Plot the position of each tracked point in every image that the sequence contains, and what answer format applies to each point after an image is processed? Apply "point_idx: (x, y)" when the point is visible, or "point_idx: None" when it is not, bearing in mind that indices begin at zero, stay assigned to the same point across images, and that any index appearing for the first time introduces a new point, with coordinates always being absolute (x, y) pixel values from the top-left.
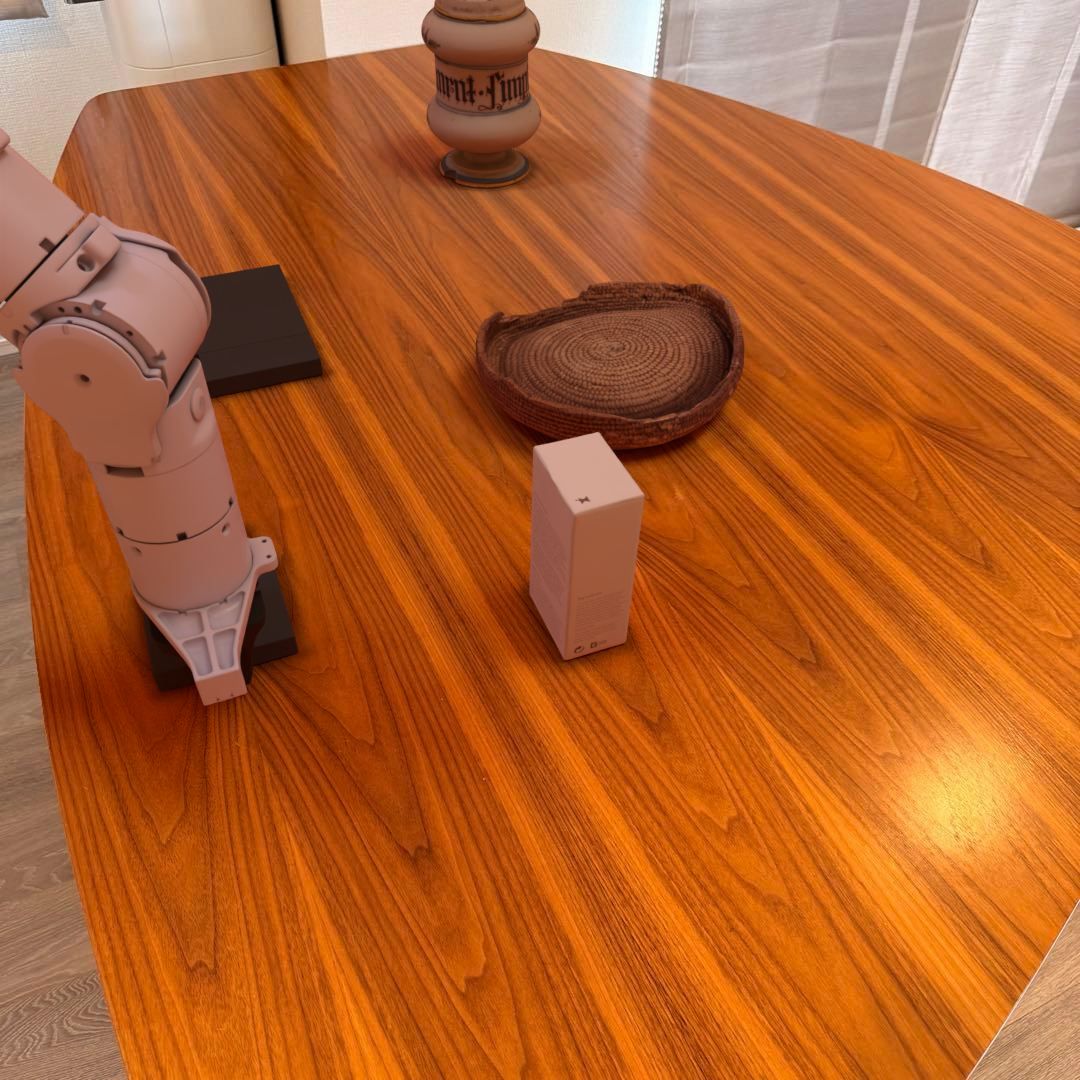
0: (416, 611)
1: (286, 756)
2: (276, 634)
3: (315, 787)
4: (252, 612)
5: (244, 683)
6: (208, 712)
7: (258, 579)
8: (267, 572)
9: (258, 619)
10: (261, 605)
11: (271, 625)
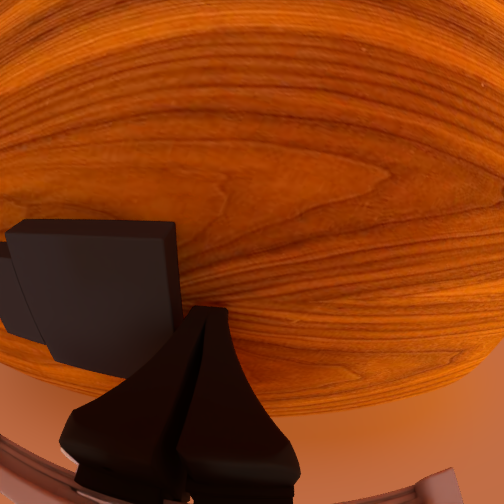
0: (162, 22)
1: (344, 279)
2: (152, 264)
3: (401, 260)
4: (262, 475)
5: (457, 485)
6: (234, 337)
7: (49, 259)
8: (39, 244)
9: (292, 471)
10: (249, 469)
11: (132, 266)
